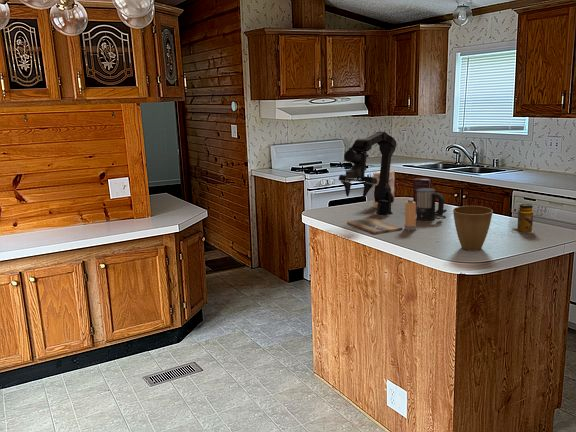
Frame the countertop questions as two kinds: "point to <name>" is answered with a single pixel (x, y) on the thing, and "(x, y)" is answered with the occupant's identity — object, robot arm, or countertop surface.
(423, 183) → the supplement box
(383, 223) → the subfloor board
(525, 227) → the condiment
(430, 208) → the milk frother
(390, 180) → the coffeecake box
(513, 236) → the countertop surface
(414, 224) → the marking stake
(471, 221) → the plant pot
